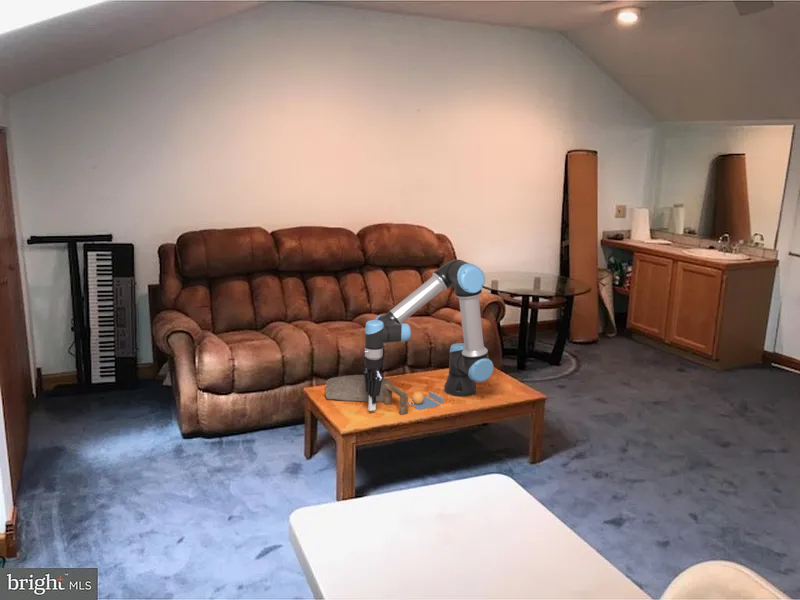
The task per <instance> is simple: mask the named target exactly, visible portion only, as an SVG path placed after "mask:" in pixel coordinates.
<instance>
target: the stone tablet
mask: <svg viewBox="0 0 800 600" xmlns="http://www.w3.org/2000/svg"><path fill="white" fill-rule="evenodd" d="M389 383H391V384H392V383H393V382H392V381H391V380H389V379H387V378H383V380H382V384H381V389H380V395H379V396H376V403H384V384H389ZM392 385H393V384H392ZM325 398H326V400H336V401H344V402H346V401H348V402H349V401H351V402H352V401H353V402H355V401H356V402H368V403H369V395H368V392H366V389H365V378H364V374H353V375H352V374H351V375H341V376H335V377H330V378H328V379H327V380H326V387H325Z"/></svg>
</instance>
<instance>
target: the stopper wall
mask: <svg viewBox="0 0 800 600" xmlns="http://www.w3.org/2000/svg"><path fill="white" fill-rule="evenodd" d="M428 398H429V399H431V400H433V401H435V402H436V403H438V404H440V405H442V404H445V403H444V402H445V398H444V397H442V396H441V395H439V394H437V393H436V392H433V391H430V390H429V391H428Z"/></svg>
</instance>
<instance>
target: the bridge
mask: <svg viewBox="0 0 800 600" xmlns="http://www.w3.org/2000/svg"><path fill="white" fill-rule="evenodd" d="M391 383H392V382H391ZM391 383H389V384H384V402H383V404H384V405H385V406H390V405H392V403H393V393H394V394H396V395H397V396H399V403H398V405H399V410H398V414H400V416H404V415H409V414H408V413H409V411H408V410H409V409H408V408H409V404H408V399H409V393H408V392H406V391H405V390H403V389H401V388H399V387H397V386H396V385H394V384H391ZM389 404H390V405H389Z"/></svg>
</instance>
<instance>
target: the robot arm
mask: <svg viewBox="0 0 800 600" xmlns="http://www.w3.org/2000/svg"><path fill="white" fill-rule="evenodd" d="M431 275H432V276H431V277H430V278H428V280H426V281H425V282H424V283H422V284H421V285H420V286H419V287H418V288H416V289H415V290H414V291H413V292H411V293H409V295H407V296H406V297H405V298H404V299H403V300H401V301H400V302H399V303H398V304H397V305H395V306H394V307H393V308H392V309H391V310H390V309H389V311H388V312H387V313H386V314H378V315H377V316H376V317H375V319H370V320H368V321H366V323H365V328H364V361H363V362H364V367H366V368H363V369H362V371H363V375H364V378H365V389H366V392H368V395H369V402H368V408H367V409H368V411H370V412H371V411H376V408H377V407H376V405H377V402H376V396H379V395H380V389H381V384H382V380H383V379H384V376H383V375H382V376H381V370H380V369H381V367H383V354H384V353H383V352H384V351H383V349H384V344H387V343H402V342H407V341H410V339H411V336H412V330H411V326H410V325H409V324H408V323H404V322H405V321H406V320H408V319H409V318H410V317H411V316H413V314H415V313H416V312H417V311H418V310H420V309H421V308H422V307H423V306H425V305H426V304H427V303H428V302H430V301H431V300H433V299H434V297H436V296H437V295H438V294H439V293H441V292H443V291H447V290H448V289H449V288H452V287H453V288H454V296H455V297H456V298H458V301H459V310H460V318H461V326H462V336H463V342H459V343H456V342H455V343H453V344H451V346H450V348H449V360H448V361H449V365H448V376H447V378H446V381H445V384H444V385H443V386H444V388H443V391H444V393H446V394H448V395H451V396H453V397H454V396H455V397H471V396H475V394H476V393H477V385H476V383H483V382H486V381H487V380H489V379H490V377H491V376H492V375H493V374H494V370H495V369H494V368H495V367H494V363H493V361H492V360H491V359H490V358H489V351H488V350H489V349H488V348H486V347H485V345H484V337H483V335H484V333H483V325H482V318H481V317H482V315H481V308H480V307H481V306H480V295H481V294H482V289H483V286H484V285H485V282H486V277H485V276H486V275H485V274H484V271H483V270H482V269H481V268H480V267H479V266H477V264H474V263H470V262H467V261H465V260H462V259H453V260H450V261H448V262H446V263H445V264H443V265H442V266H440V267H439V268H437V269H436V270H435V271H434V272H433V273H432V274H431Z"/></svg>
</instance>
